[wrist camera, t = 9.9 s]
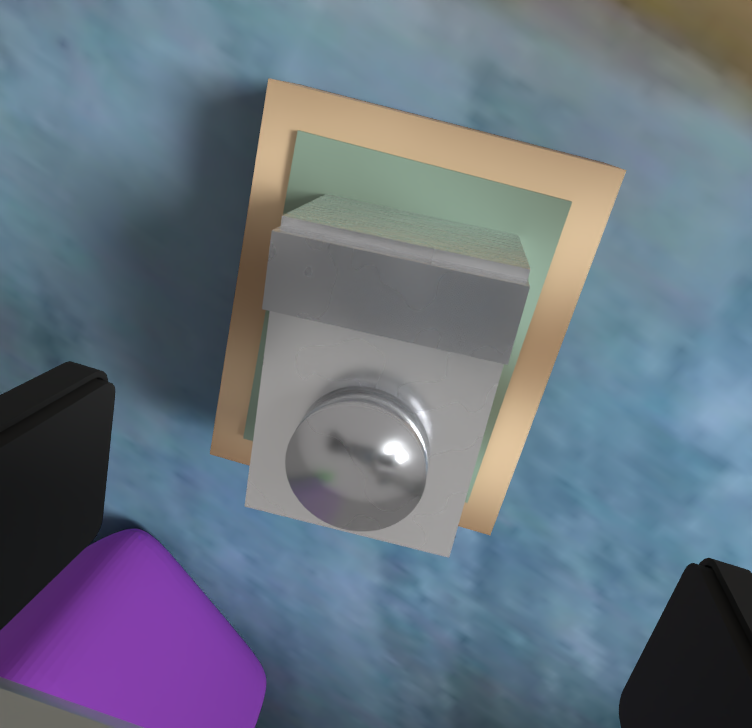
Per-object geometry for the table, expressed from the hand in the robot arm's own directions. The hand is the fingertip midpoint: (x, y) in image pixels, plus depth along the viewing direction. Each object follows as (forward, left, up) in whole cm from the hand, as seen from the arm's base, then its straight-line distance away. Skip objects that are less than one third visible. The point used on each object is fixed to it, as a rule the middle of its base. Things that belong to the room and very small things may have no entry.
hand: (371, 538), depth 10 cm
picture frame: (+1, +1, -11) cm, 11 cm away
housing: (0, +1, -8) cm, 8 cm away
